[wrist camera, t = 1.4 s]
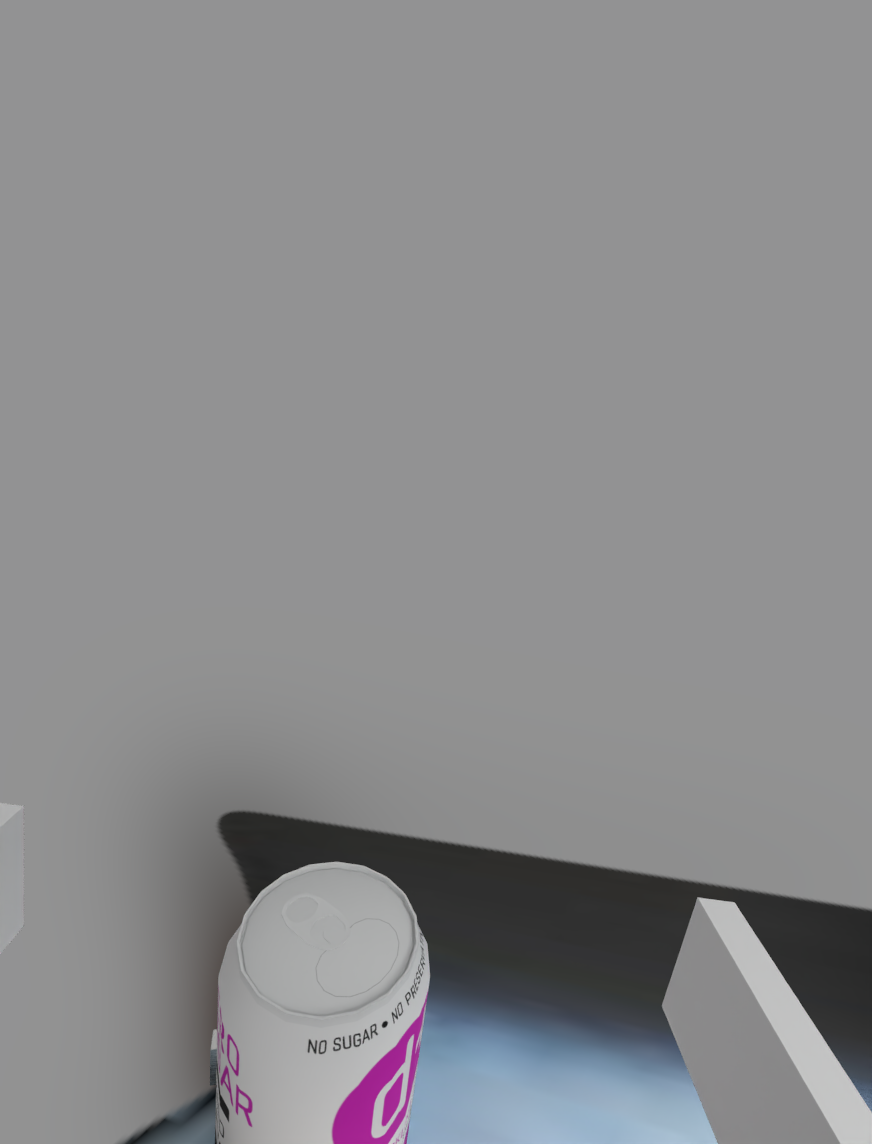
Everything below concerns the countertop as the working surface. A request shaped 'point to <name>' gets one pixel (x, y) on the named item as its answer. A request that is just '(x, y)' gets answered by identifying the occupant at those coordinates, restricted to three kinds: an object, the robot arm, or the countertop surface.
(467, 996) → the countertop surface
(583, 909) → the countertop surface
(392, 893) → the sparkling water can
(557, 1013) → the countertop surface
